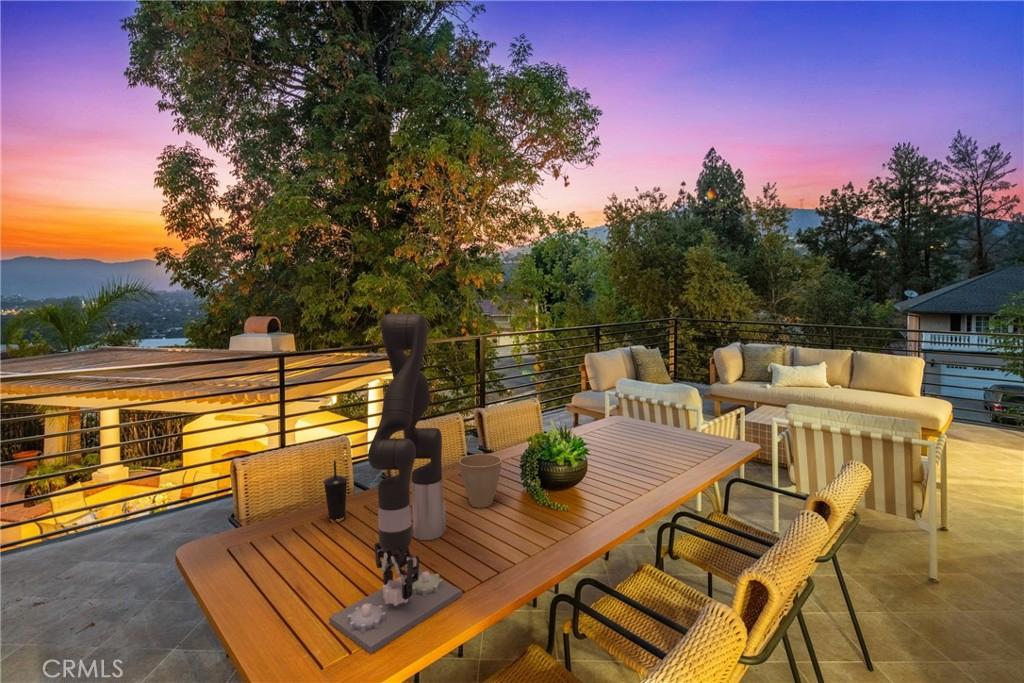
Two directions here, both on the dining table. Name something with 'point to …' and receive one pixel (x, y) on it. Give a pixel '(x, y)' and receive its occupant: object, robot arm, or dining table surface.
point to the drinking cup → (336, 495)
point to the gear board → (393, 612)
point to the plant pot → (480, 478)
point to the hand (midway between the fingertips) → (397, 592)
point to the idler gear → (393, 592)
